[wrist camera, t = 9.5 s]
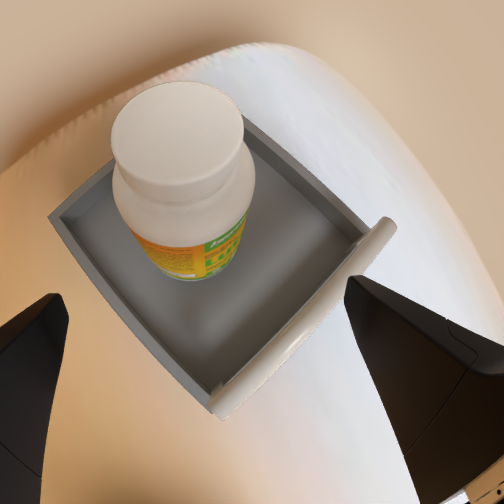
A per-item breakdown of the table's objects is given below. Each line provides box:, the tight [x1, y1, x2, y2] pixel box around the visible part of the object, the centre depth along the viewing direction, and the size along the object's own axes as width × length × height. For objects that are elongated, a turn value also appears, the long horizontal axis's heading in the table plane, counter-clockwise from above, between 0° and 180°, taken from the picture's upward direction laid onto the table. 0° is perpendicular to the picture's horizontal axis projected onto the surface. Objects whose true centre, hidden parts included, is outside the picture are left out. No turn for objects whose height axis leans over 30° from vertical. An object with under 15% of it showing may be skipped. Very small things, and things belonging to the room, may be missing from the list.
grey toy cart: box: [48, 115, 397, 421], centre depth 17 cm, size 14×13×8 cm
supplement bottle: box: [111, 81, 255, 281], centre depth 13 cm, size 5×5×10 cm
